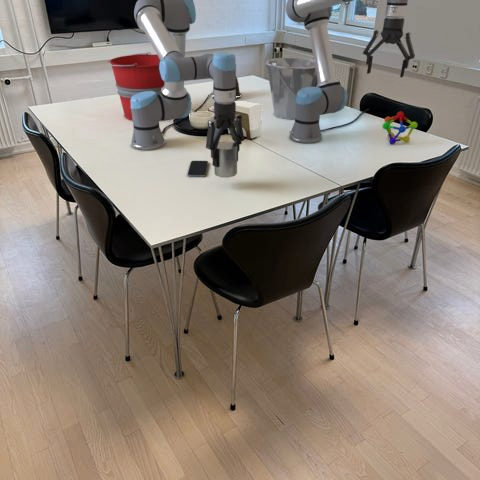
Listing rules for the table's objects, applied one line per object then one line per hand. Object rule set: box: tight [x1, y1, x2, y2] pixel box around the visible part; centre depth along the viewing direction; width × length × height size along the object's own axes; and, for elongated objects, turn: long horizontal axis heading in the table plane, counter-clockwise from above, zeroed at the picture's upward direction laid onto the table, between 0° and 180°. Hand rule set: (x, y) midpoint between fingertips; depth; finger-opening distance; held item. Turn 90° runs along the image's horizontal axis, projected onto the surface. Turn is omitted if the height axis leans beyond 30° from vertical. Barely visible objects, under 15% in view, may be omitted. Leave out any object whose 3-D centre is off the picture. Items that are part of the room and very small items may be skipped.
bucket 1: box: [106, 51, 165, 121], centre depth 240 cm, size 35×35×30 cm
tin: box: [213, 140, 238, 179], centre depth 164 cm, size 8×8×11 cm
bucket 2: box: [265, 56, 318, 120], centre depth 242 cm, size 30×30×28 cm
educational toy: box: [382, 110, 418, 145], centre depth 207 cm, size 16×13×15 cm
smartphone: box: [187, 160, 209, 177], centre depth 182 cm, size 7×1×15 cm
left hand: (225, 163), depth 164 cm, fingers closed on tin, 8 cm apart
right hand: (384, 75), depth 182 cm, fingers open, 13 cm apart
